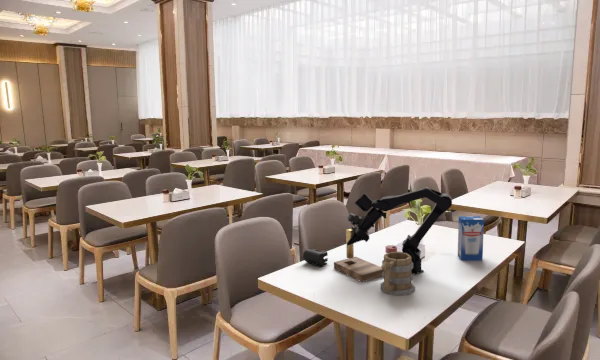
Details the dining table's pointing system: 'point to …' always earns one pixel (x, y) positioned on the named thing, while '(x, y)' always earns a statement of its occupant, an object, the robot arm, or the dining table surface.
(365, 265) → the hole block
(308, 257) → the end cap
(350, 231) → the peg
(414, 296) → the dining table surface
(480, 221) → the milk carton
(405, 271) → the tankard
